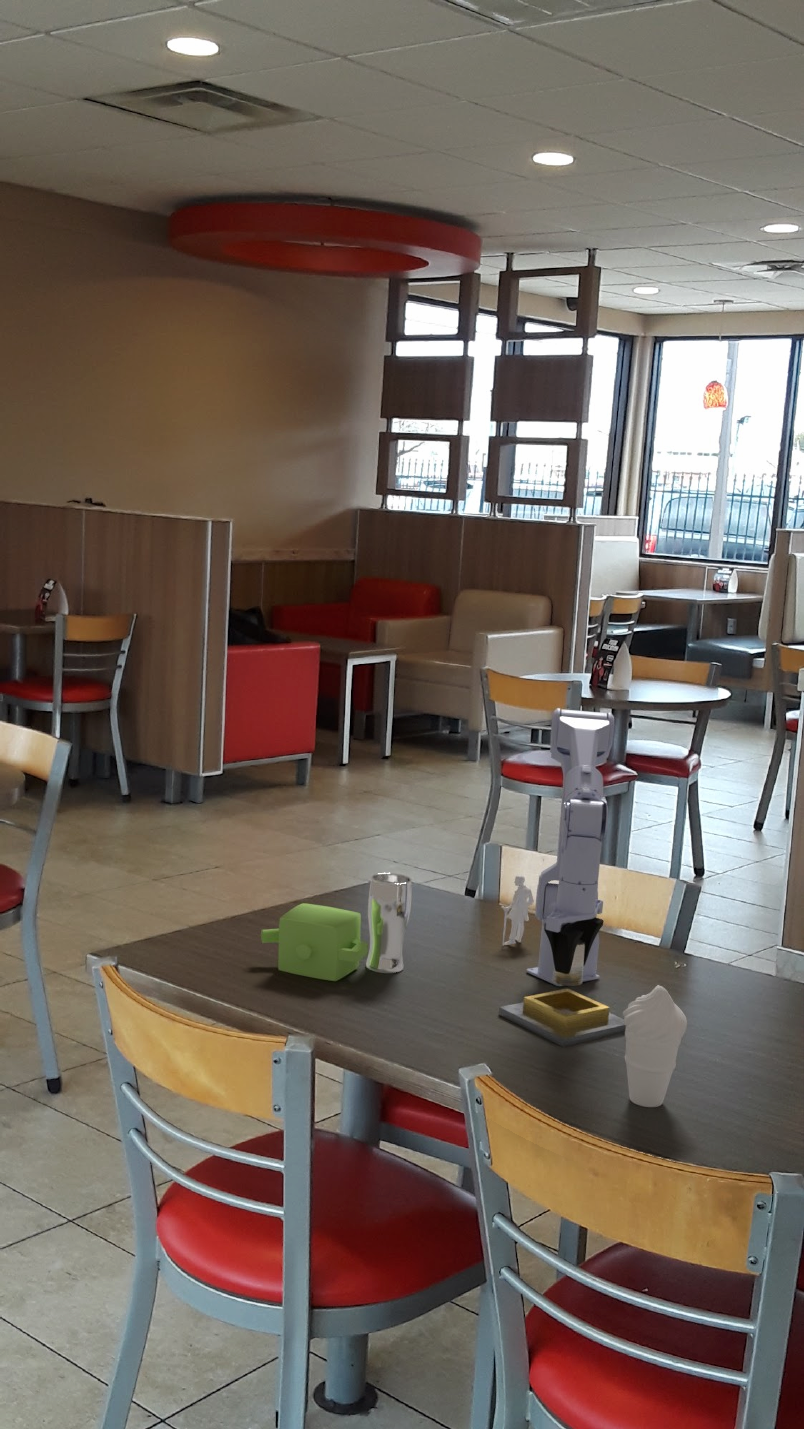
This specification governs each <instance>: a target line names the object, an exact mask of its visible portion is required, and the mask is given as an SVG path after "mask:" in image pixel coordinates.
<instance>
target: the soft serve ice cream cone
mask: <svg viewBox="0 0 804 1429" xmlns="http://www.w3.org/2000/svg"><path fill="white" fill-rule="evenodd" d="M622 1016H623V1017H624V1018H623V1019H624V1020H623V1023H624V1024H625V1025H626V1029H625V1032H624V1036H625V1054H624V1061H625V1064H626V1073H627V1084H628V1085H627V1086H628V1095H629V1096H628V1097H629V1100H630V1102H632V1104H635V1105H638V1106H640V1107H644V1108H657V1107H660V1106H661V1105H663V1104H664V1100H665V1097H666V1094H667V1091H668V1087H669V1084H670V1081H671V1078H672V1075H673V1072H674V1070H675V1068H677V1064H676V1061H677V1058H678V1057H677V1056H678V1052H679V1046H680V1045H681V1043H682V1038H683V1036H685V1035H684V1034H685V1033H686V1030H687V1027H688V1019H687V1017H686V1015H685V1013H684V1012H683V1011H682V1009H681V1008H680V1007H679V1006H678V1005H677V1003H675V1002H674V1000H673V998H672V996H671V995H670V994H669V991H668V990H667V989H666V988H665V987H664V986H662V985H659V984H657V985H656V986H655V987H654V988H653V989H652V990H651V991H650V992H649V993H647V994H642V995H641V996H637V997H636V998H635V1000H633V1001H631V1002H629V1004H628V1005H627V1008H626V1009H625V1010H623V1012H622Z"/></svg>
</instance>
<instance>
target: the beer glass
mask: <svg viewBox="0 0 804 1429" xmlns="http://www.w3.org/2000/svg"><path fill="white" fill-rule="evenodd" d="M370 878H371V879H370V884H369V889H368V890H369V891H368V899H367V920H368V931H369V932H368V933H369V949H368V954H367V959H366V962H365V966H366V968H367V969H368V970H370V971H371V972H375V973H378V974H396V972H397V973H399V972H401V971H402V970H404V959H403V945H404V940H405V935H406V931H407V928H408V924H409V920H410V915H411V909H412V907H411V906H412V881H413V880H412V878H411V877H410V876H408V875H405V874H401V873H393V872H379V873H375V874H372V875H371V876H370Z"/></svg>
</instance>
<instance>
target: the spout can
mask: <svg viewBox="0 0 804 1429" xmlns="http://www.w3.org/2000/svg"><path fill="white" fill-rule="evenodd" d="M584 949H585V942H584V941H582V940H579V942H578V944H577V946H576V949H575V953H574V957H573V963H572V967H571V970H570V972H569V974H564V973H560V972H556V971H555V967H554V966H553V982H555V983H557V984H560V985H564V986H565V987H566V986H567V987H574V986H576V987H577V986H580V985H583V982H582V978H583V964H584Z"/></svg>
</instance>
